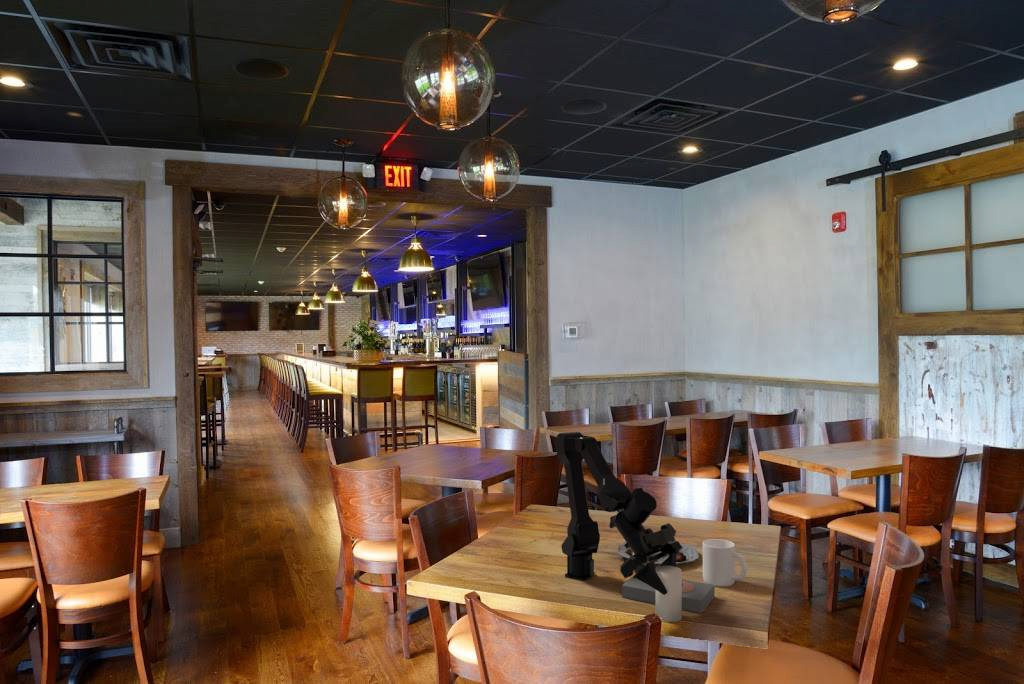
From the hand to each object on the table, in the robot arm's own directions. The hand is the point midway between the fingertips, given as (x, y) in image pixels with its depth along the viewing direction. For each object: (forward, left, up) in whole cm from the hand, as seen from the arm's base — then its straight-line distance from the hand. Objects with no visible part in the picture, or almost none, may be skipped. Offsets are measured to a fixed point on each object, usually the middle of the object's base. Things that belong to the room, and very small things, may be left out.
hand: (673, 590), depth 157 cm
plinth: (-5, +12, -7) cm, 15 cm away
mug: (+5, +29, -7) cm, 31 cm away
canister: (-1, 0, -7) cm, 7 cm away
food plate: (-18, +42, -7) cm, 47 cm away
